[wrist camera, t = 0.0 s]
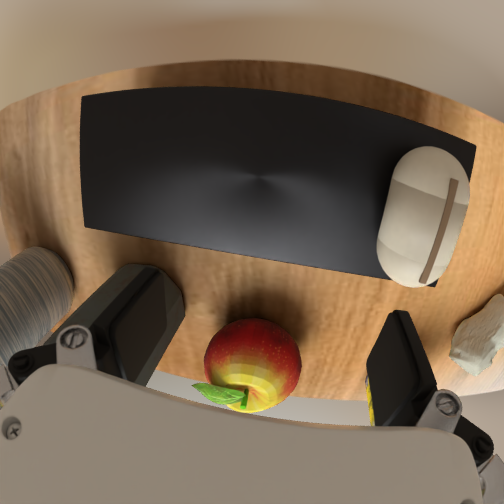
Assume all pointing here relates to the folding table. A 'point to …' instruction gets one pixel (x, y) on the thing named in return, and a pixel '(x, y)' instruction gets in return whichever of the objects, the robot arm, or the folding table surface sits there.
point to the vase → (32, 298)
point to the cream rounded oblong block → (422, 216)
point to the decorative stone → (479, 337)
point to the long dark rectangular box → (248, 171)
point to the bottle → (110, 291)
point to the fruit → (250, 365)
